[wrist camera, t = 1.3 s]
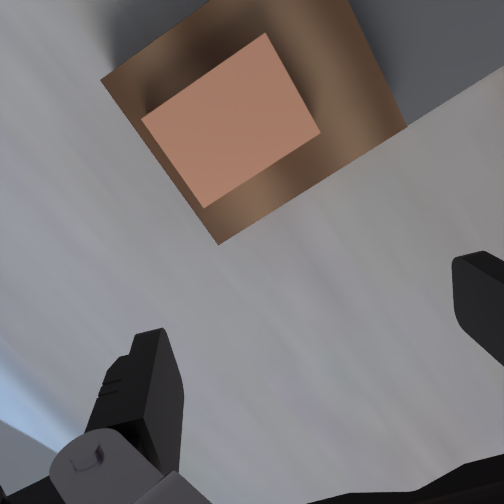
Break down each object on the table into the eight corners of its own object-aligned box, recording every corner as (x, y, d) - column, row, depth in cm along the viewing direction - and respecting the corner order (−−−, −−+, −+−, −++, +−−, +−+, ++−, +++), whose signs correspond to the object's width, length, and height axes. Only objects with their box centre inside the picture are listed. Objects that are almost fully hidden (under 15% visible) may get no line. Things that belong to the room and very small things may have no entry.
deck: (299, -52, 26) (312, -74, 23) (384, 121, 30) (407, 126, 27) (116, 80, 28) (100, 80, 25) (218, 226, 32) (218, 245, 29)
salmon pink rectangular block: (261, 36, 24) (265, 32, 22) (313, 129, 26) (320, 132, 25) (146, 116, 25) (140, 119, 24) (204, 200, 27) (203, 208, 26)
